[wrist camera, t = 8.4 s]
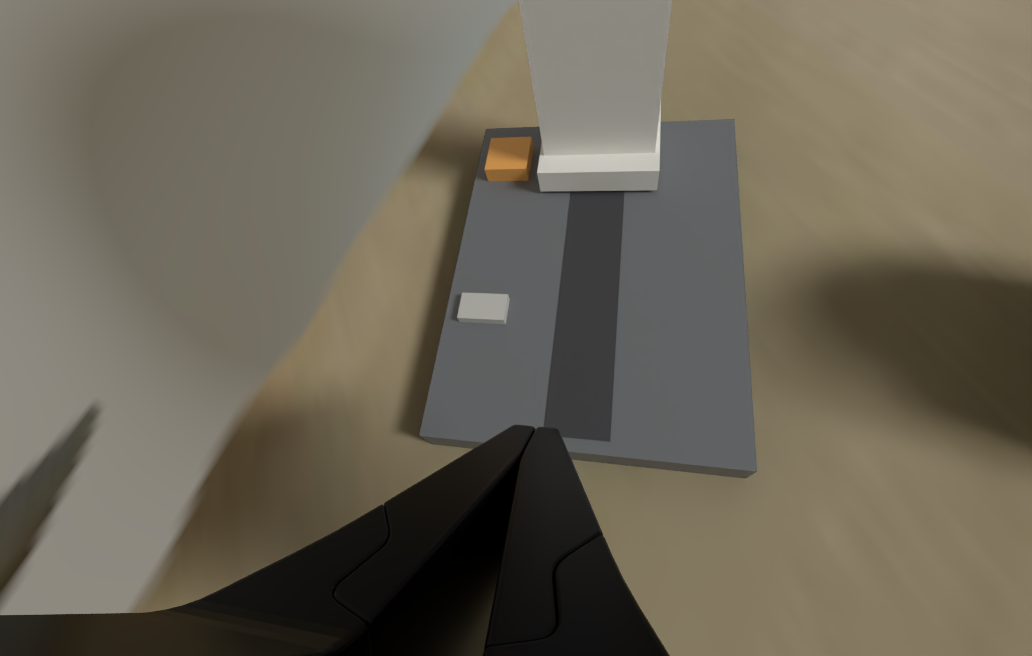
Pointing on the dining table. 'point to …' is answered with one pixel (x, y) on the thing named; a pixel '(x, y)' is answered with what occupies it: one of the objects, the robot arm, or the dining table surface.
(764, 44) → the dining table surface
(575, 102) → the tab
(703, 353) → the switch panel
